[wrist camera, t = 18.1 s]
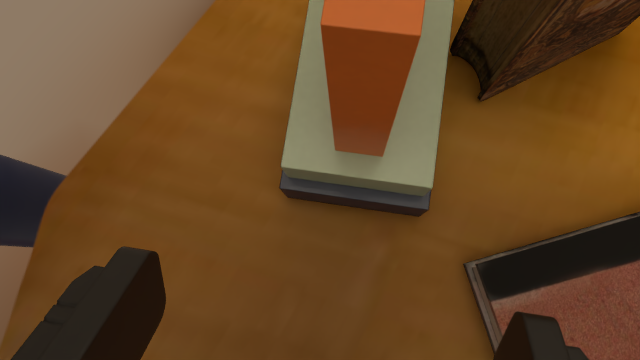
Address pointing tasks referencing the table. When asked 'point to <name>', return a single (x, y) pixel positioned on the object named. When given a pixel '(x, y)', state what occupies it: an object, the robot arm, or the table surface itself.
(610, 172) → the table surface
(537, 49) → the book
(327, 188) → the box stack
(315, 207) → the table surface
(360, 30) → the orange box
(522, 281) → the book
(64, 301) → the robot arm
